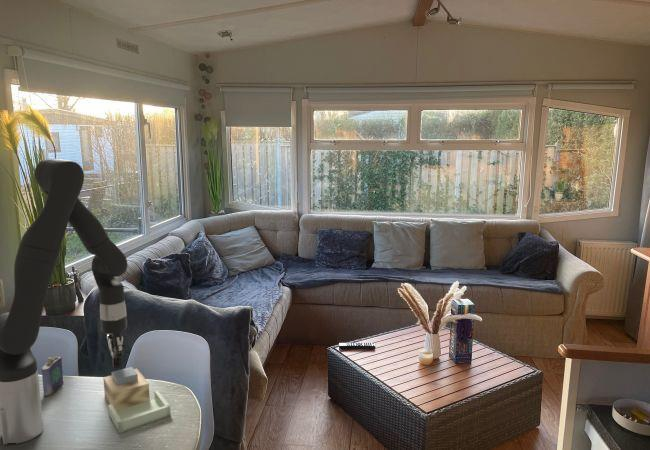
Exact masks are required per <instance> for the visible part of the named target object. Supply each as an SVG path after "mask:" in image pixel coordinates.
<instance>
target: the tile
mask: <svg viewBox="0 0 650 450" xmlns="http://www.w3.org/2000/svg"><path fill="white" fill-rule="evenodd" d="M134 369H135V368H134V367H133V366H130V367H125V368H121V369H116V370H114V371H111V372H110V373H111V375H112V379H113V381H114V382H115V384H116V385H117V386H119V385H122V384H126V383H130V382H133V381H137V380H138V374H137V373H136V371H135V370H134Z"/></svg>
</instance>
